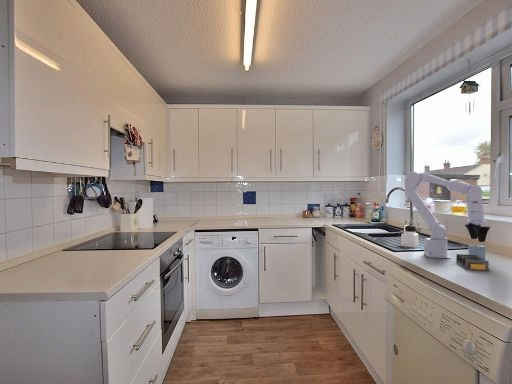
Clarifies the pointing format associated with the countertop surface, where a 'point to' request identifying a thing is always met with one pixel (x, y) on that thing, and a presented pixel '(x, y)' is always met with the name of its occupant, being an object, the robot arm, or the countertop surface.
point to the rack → (472, 262)
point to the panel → (476, 251)
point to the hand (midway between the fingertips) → (477, 240)
